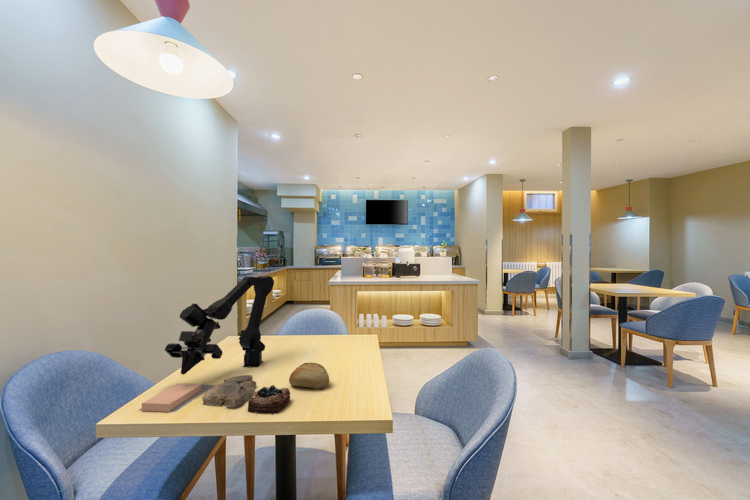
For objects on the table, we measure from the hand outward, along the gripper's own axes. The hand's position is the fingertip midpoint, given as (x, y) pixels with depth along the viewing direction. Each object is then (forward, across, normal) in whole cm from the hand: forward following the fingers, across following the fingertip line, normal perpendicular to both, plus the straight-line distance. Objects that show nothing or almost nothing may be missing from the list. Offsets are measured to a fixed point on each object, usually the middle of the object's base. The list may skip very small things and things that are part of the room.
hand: (182, 373), depth 107 cm
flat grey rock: (+4, +17, +8) cm, 19 cm away
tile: (+2, 0, +6) cm, 7 cm away
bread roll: (-3, +40, +14) cm, 43 cm away
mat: (+6, 0, +4) cm, 8 cm away
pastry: (+9, +32, +3) cm, 33 cm away
